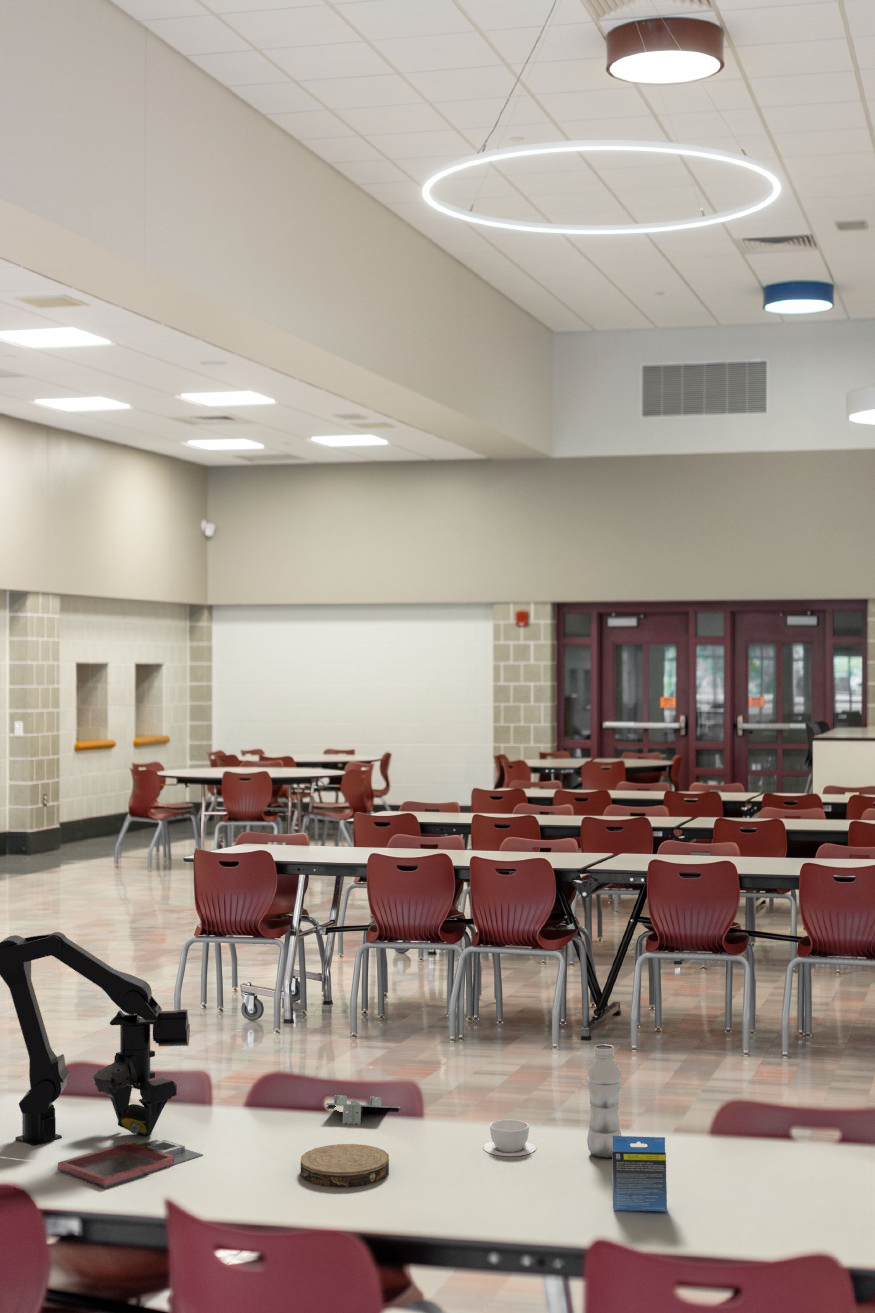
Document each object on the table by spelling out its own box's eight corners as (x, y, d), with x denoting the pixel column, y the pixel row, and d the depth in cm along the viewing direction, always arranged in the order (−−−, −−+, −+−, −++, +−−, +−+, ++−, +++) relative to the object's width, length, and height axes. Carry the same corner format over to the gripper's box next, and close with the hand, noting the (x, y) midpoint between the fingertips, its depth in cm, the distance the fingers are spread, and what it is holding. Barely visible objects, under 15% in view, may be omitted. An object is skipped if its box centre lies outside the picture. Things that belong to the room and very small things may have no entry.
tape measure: (146, 1144, 283) (154, 1126, 286) (152, 1129, 278) (160, 1112, 281) (114, 1129, 283) (122, 1112, 285) (119, 1115, 278) (127, 1098, 281)
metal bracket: (388, 1097, 289) (315, 1094, 292) (387, 1128, 287) (313, 1124, 290) (402, 1098, 303) (331, 1095, 305) (400, 1128, 301) (330, 1124, 303)
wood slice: (282, 1176, 261) (281, 1159, 261) (346, 1154, 273) (346, 1138, 273) (343, 1196, 250) (343, 1178, 251) (407, 1173, 262) (407, 1156, 262)
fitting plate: (57, 1171, 263) (57, 1163, 263) (155, 1143, 280) (155, 1134, 280) (104, 1188, 254) (104, 1179, 254) (203, 1158, 271) (203, 1149, 271)
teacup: (519, 1162, 268) (519, 1136, 268) (473, 1153, 273) (473, 1128, 273) (545, 1147, 276) (545, 1122, 276) (500, 1139, 282) (499, 1114, 282)
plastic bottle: (582, 1159, 268) (581, 1049, 269) (593, 1148, 275) (592, 1041, 275) (616, 1163, 266) (616, 1052, 267) (626, 1152, 272) (625, 1044, 273)
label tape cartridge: (666, 1204, 245) (665, 1130, 245) (667, 1213, 241) (666, 1137, 241) (612, 1203, 246) (612, 1129, 246) (612, 1211, 242) (612, 1136, 242)
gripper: (71, 1047, 283) (71, 1128, 282) (131, 1063, 270) (131, 1148, 270) (119, 1037, 291) (119, 1115, 291) (178, 1051, 279) (178, 1134, 278)
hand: (135, 1128), depth 282 cm, fingers closed on tape measure, 8 cm apart
